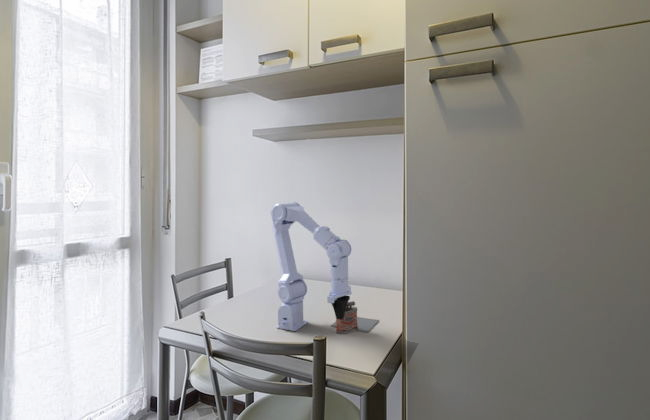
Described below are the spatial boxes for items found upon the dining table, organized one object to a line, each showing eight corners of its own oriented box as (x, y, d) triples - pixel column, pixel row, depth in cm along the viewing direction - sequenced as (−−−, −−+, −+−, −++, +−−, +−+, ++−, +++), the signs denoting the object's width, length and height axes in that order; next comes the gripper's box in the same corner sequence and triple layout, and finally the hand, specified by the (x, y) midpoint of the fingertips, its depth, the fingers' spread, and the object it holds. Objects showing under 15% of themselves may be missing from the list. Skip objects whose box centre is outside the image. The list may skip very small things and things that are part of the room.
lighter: (338, 335, 124) (337, 306, 122) (334, 331, 127) (333, 303, 125) (359, 330, 127) (359, 302, 126) (355, 326, 130) (354, 298, 129)
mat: (368, 332, 125) (368, 331, 125) (330, 326, 131) (330, 325, 131) (378, 320, 136) (378, 320, 136) (343, 315, 142) (343, 314, 142)
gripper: (341, 284, 112) (342, 328, 113) (358, 273, 125) (359, 313, 126) (321, 282, 115) (321, 324, 116) (339, 272, 128) (340, 310, 129)
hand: (339, 318), depth 121 cm, fingers closed
